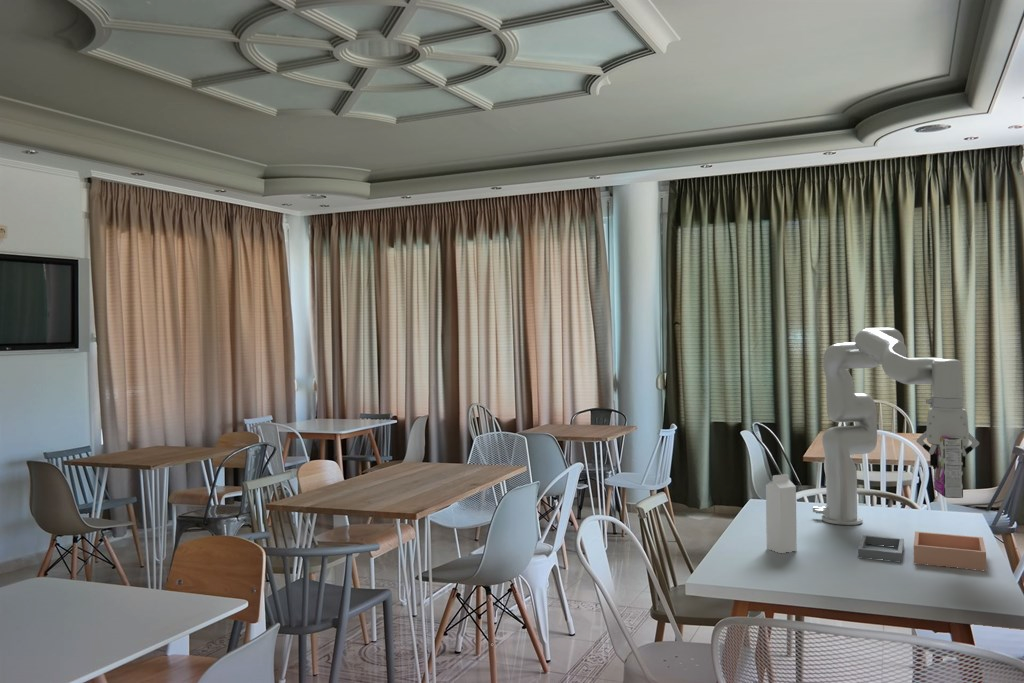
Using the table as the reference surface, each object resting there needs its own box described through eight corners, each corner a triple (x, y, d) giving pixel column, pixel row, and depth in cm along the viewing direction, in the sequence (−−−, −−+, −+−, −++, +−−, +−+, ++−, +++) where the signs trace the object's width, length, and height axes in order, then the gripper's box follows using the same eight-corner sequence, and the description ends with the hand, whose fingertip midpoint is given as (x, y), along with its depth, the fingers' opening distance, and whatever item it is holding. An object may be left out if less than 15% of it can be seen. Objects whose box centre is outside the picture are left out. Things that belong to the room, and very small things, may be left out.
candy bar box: (932, 489, 229) (932, 432, 228) (951, 490, 228) (951, 432, 227) (943, 497, 218) (943, 437, 218) (963, 498, 217) (963, 437, 216)
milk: (796, 551, 233) (796, 475, 233) (780, 554, 231) (780, 477, 231) (782, 546, 239) (781, 472, 239) (765, 548, 236) (765, 473, 236)
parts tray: (858, 557, 226) (857, 548, 226) (862, 543, 241) (862, 535, 241) (901, 562, 221) (901, 553, 221) (903, 547, 236) (903, 538, 236)
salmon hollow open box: (913, 563, 219) (913, 545, 219) (915, 548, 234) (915, 531, 234) (986, 571, 211) (986, 552, 211) (982, 555, 226) (982, 537, 226)
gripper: (911, 404, 223) (912, 469, 223) (983, 406, 215) (984, 473, 215) (912, 401, 230) (913, 465, 230) (982, 403, 222) (982, 469, 222)
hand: (947, 468), depth 223 cm, fingers closed on candy bar box, 5 cm apart
